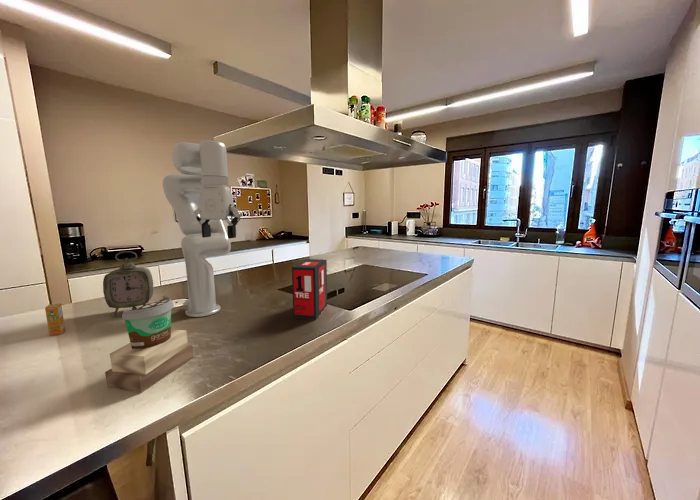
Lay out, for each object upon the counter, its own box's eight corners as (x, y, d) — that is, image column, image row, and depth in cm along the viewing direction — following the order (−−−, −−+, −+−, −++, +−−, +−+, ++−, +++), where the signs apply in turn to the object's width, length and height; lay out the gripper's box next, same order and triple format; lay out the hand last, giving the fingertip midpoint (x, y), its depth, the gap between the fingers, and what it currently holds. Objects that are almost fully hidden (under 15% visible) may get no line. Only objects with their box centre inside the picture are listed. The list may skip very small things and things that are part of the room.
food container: (147, 354, 67) (143, 313, 66) (125, 351, 68) (120, 311, 67) (187, 331, 79) (184, 296, 77) (168, 329, 80) (164, 295, 79)
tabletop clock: (107, 318, 110) (98, 253, 106) (114, 311, 118) (106, 250, 114) (152, 313, 115) (145, 251, 112) (156, 305, 124) (150, 248, 120)
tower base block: (107, 389, 69) (104, 371, 68) (164, 355, 84) (162, 341, 83) (141, 395, 66) (139, 377, 66) (193, 359, 82) (192, 344, 81)
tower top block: (112, 371, 68) (109, 353, 67) (159, 343, 82) (157, 328, 81) (146, 374, 67) (143, 356, 66) (187, 345, 81) (186, 330, 80)
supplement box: (48, 336, 95) (43, 307, 93) (53, 332, 98) (48, 304, 96) (62, 334, 96) (57, 305, 95) (66, 330, 99) (61, 302, 98)
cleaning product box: (307, 304, 126) (306, 259, 123) (327, 305, 124) (326, 259, 121) (293, 318, 110) (291, 267, 107) (316, 320, 108) (315, 268, 105)
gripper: (183, 182, 89) (188, 238, 92) (231, 181, 84) (234, 239, 87) (201, 184, 96) (205, 235, 99) (246, 183, 91) (249, 237, 94)
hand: (219, 237), depth 93 cm, fingers open, 9 cm apart
